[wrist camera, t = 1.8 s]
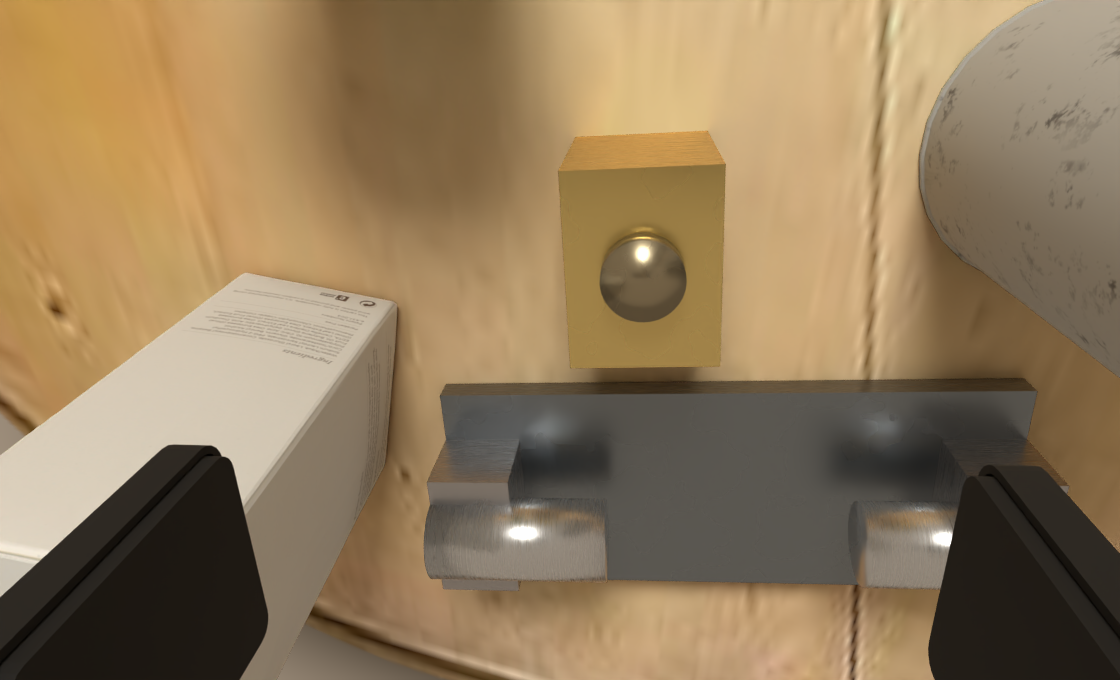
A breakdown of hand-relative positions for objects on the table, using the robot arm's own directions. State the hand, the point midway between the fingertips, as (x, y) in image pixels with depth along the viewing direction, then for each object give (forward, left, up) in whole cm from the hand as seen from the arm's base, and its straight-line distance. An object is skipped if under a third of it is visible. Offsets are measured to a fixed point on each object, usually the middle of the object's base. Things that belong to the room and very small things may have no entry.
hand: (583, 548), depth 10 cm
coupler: (-1, +1, -19) cm, 19 cm away
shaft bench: (-4, +12, -19) cm, 22 cm away
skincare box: (+12, +7, -19) cm, 24 cm away
